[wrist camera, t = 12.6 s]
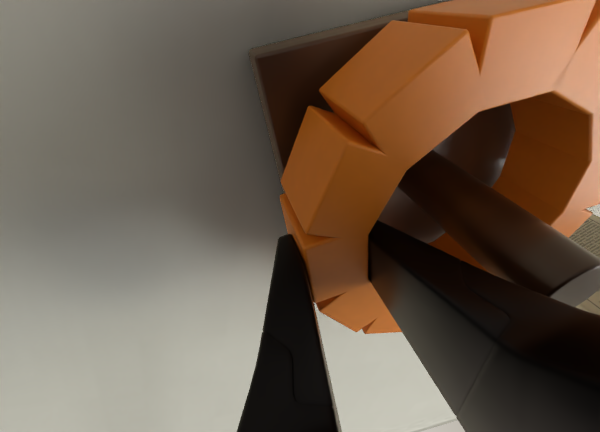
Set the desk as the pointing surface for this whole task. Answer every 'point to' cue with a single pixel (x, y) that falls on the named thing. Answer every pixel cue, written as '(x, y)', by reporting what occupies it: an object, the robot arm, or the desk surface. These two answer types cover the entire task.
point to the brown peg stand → (432, 170)
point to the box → (595, 238)
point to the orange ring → (444, 131)
